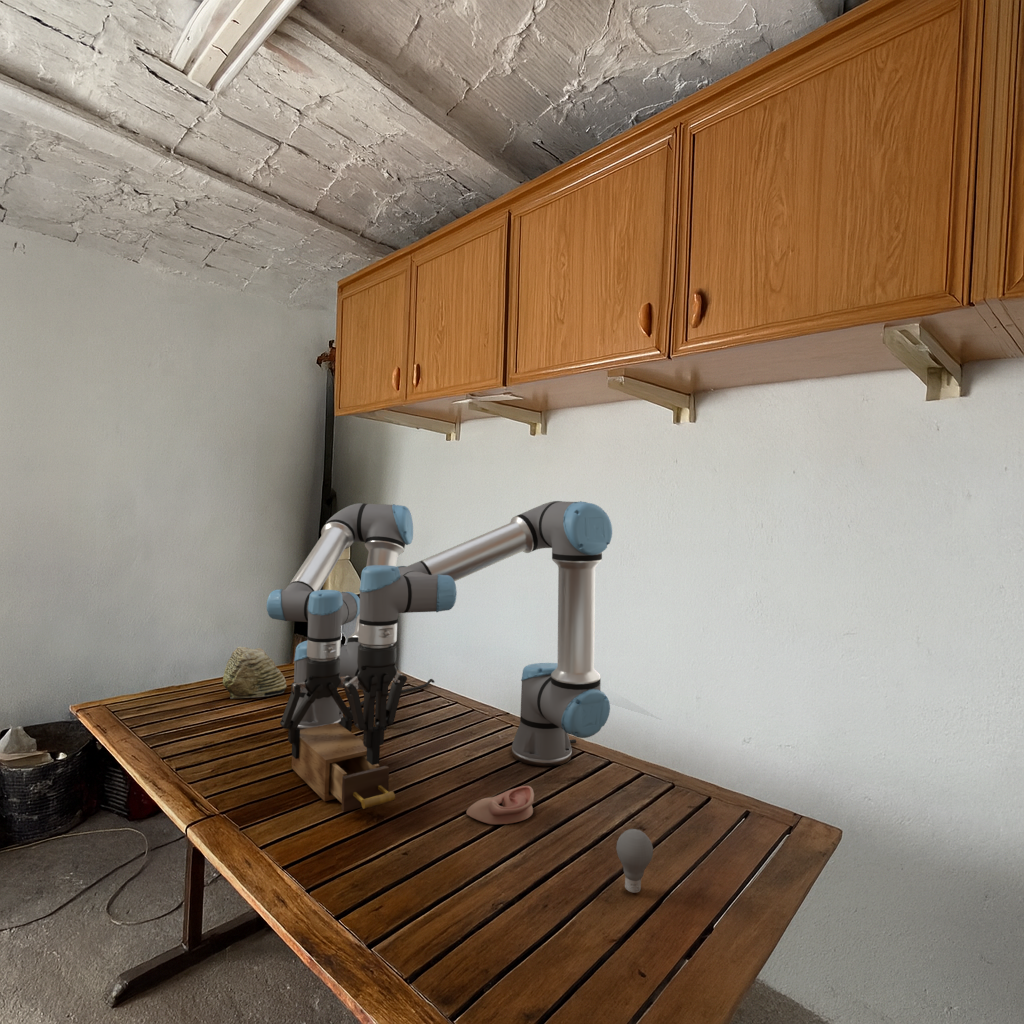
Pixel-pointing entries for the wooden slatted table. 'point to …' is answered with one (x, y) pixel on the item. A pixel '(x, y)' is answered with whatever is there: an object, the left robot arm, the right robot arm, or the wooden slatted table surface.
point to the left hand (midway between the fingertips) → (320, 751)
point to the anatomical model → (504, 807)
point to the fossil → (252, 674)
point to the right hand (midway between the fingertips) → (372, 761)
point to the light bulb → (634, 857)
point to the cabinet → (324, 754)
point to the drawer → (359, 783)
